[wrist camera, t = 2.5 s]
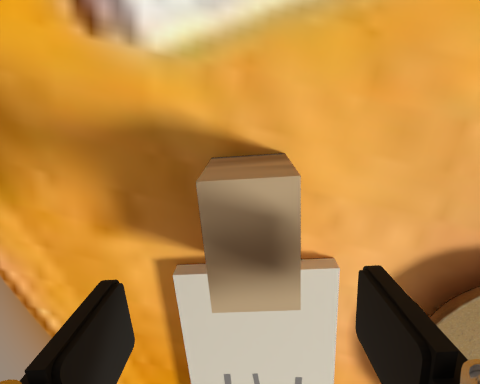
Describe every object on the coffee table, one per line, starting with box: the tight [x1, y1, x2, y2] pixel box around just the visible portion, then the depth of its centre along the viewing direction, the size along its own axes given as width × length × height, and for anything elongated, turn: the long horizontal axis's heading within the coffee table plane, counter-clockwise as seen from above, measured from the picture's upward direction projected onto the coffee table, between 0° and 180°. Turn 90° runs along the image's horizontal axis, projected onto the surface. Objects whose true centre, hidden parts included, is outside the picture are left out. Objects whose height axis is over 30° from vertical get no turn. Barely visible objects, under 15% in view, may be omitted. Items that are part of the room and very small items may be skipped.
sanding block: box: [196, 153, 301, 313], centre depth 15 cm, size 7×4×6 cm, turn 4°
